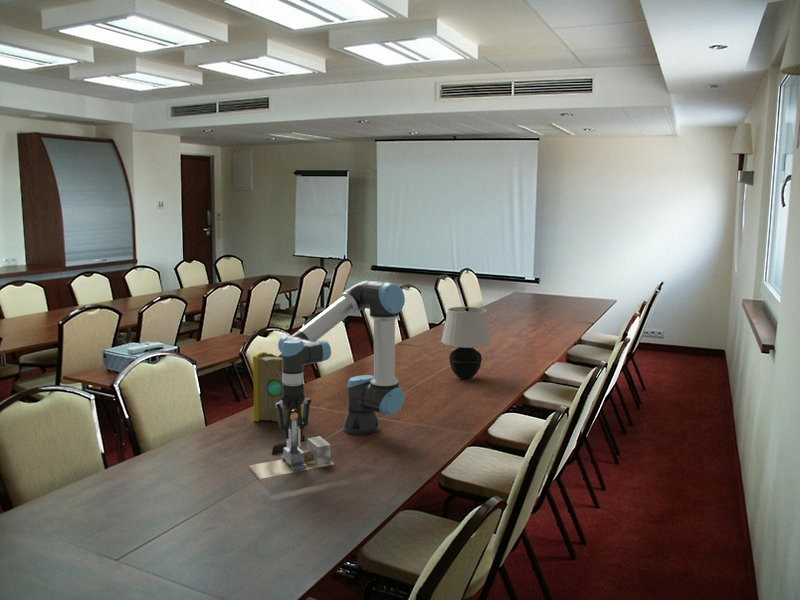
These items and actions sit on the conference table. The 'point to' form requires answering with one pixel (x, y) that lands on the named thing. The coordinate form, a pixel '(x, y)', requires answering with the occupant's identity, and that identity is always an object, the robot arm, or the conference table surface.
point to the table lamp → (466, 339)
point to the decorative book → (267, 386)
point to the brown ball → (307, 455)
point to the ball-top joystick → (294, 446)
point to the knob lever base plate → (280, 467)
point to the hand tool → (283, 445)
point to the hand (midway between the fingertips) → (293, 446)
